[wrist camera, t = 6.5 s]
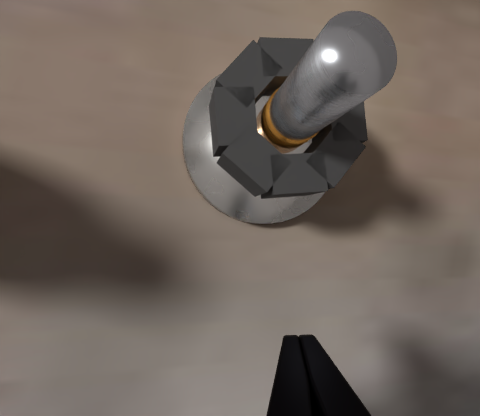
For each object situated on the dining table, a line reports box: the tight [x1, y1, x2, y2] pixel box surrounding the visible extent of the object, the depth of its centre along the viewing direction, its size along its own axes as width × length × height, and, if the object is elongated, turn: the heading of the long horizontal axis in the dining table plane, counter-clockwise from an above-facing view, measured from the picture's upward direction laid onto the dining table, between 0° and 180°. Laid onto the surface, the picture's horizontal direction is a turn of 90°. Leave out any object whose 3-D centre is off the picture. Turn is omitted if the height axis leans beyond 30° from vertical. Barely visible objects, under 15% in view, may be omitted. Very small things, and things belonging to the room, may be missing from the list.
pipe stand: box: [183, 11, 397, 224], centre depth 16 cm, size 11×11×12 cm
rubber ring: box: [209, 37, 368, 199], centre depth 17 cm, size 8×8×2 cm
